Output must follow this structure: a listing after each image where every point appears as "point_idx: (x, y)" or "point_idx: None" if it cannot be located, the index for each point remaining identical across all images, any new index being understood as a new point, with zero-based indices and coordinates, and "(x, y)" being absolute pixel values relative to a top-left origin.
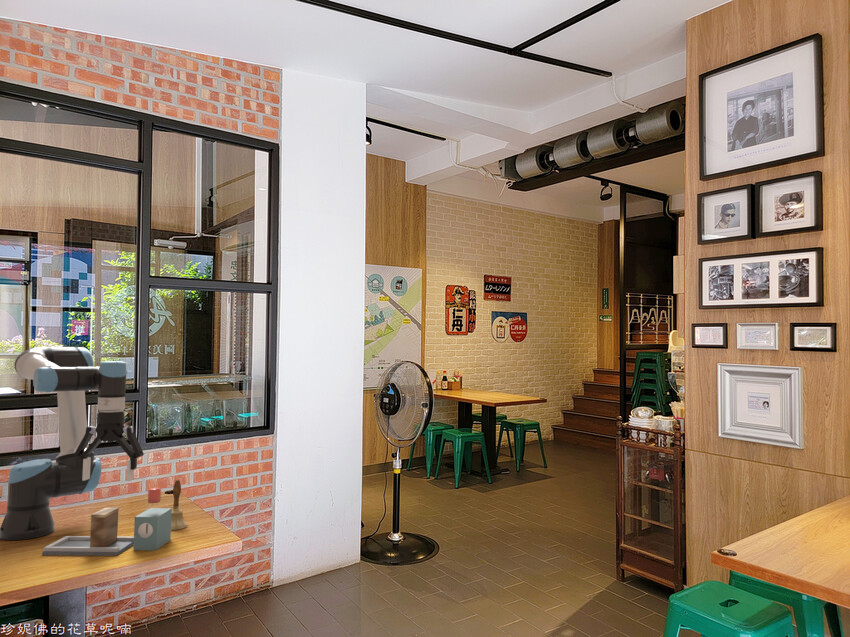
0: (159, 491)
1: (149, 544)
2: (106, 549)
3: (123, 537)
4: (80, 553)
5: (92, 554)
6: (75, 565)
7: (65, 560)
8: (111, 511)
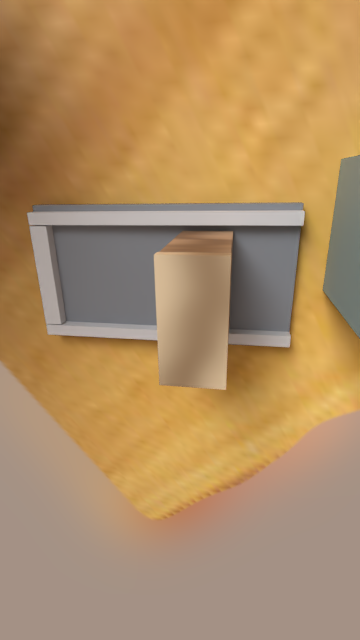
0: None
1: None
2: (249, 342)
3: (255, 224)
4: None
5: None
6: (203, 408)
7: (152, 372)
8: (227, 330)
